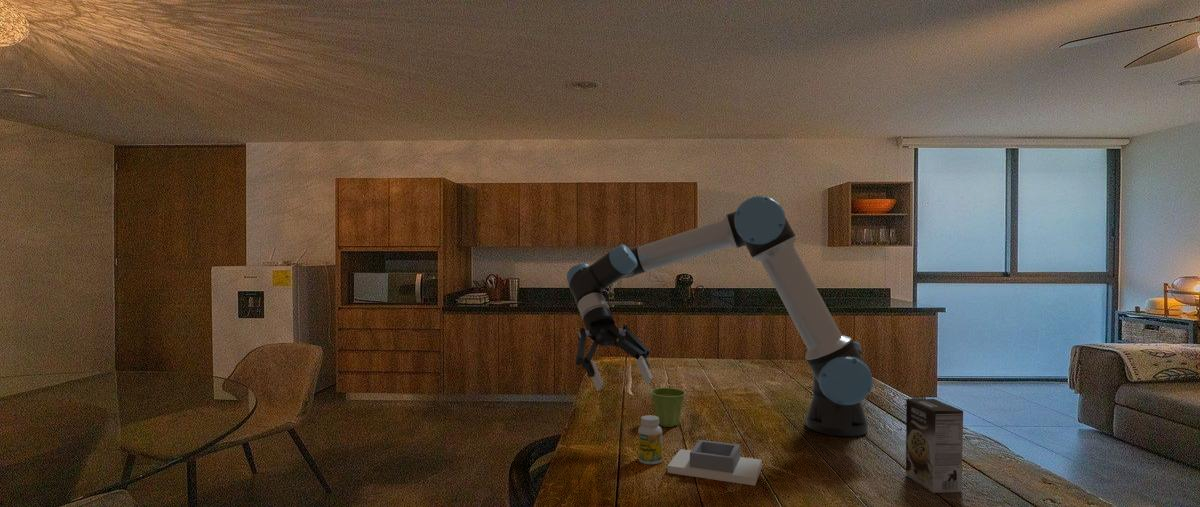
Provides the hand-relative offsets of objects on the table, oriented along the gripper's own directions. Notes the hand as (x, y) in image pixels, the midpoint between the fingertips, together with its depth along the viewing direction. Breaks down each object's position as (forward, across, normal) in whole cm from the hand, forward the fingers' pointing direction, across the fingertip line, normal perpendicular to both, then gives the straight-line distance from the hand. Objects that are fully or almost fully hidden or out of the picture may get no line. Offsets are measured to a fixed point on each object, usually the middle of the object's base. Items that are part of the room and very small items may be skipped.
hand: (625, 384), depth 141 cm
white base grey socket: (+26, -9, +5) cm, 28 cm away
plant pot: (+4, -19, -18) cm, 26 cm away
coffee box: (+45, -43, +24) cm, 66 cm away
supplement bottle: (+18, 0, -3) cm, 18 cm away
